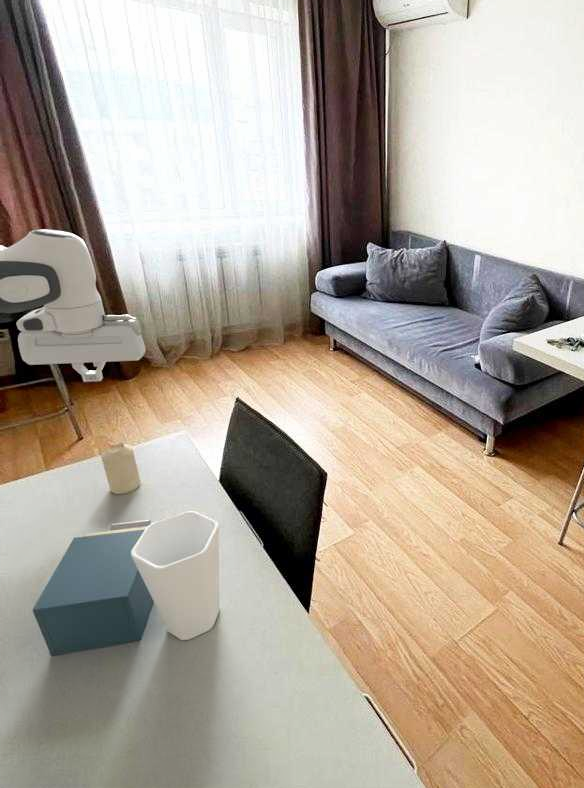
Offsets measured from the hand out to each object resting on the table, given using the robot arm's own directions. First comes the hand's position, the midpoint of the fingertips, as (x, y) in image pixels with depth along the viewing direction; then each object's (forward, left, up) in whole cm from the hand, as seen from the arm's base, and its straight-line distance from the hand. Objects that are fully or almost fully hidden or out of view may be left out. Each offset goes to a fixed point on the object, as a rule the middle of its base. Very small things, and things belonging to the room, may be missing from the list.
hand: (93, 380), depth 100 cm
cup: (+24, -42, -23) cm, 54 cm away
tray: (+11, -33, -22) cm, 41 cm away
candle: (+3, -6, -23) cm, 24 cm away
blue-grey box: (+11, -38, -23) cm, 45 cm away
